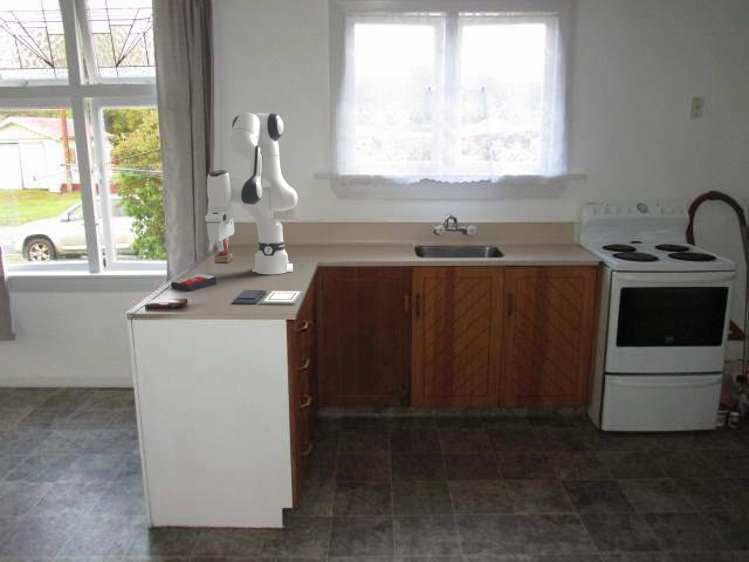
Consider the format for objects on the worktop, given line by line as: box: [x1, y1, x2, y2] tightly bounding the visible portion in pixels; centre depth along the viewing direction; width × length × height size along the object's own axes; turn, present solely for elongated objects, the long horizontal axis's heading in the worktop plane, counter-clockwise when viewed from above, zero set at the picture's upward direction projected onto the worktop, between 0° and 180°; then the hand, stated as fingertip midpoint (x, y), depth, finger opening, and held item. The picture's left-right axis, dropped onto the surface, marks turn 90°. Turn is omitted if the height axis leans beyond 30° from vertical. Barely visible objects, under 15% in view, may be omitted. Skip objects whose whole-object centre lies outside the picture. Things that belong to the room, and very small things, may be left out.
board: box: [259, 290, 304, 306], centre depth 239 cm, size 18×13×1 cm
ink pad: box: [232, 289, 267, 305], centre depth 239 cm, size 14×9×2 cm, turn 176°
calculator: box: [170, 273, 217, 293], centre depth 259 cm, size 11×4×15 cm
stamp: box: [214, 238, 234, 265], centre depth 236 cm, size 6×5×9 cm
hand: (223, 250), depth 236 cm, fingers closed on stamp, 3 cm apart
